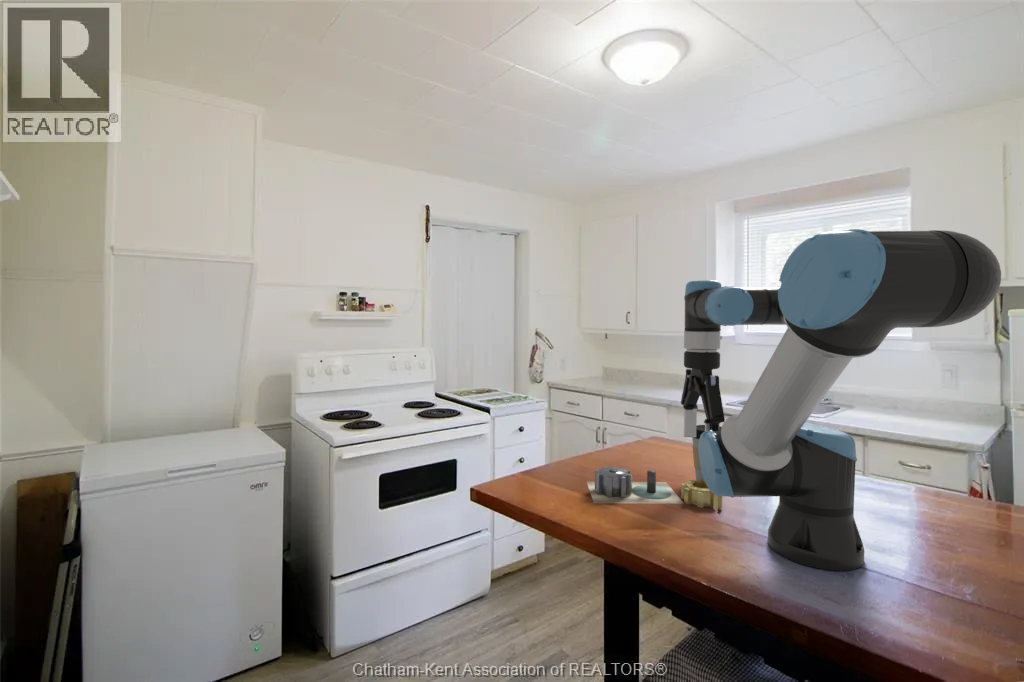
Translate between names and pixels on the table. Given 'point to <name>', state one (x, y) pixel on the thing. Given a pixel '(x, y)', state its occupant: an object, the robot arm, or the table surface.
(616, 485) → the gear
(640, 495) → the gear board
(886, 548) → the table surface
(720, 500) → the gear
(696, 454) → the coffee cup
